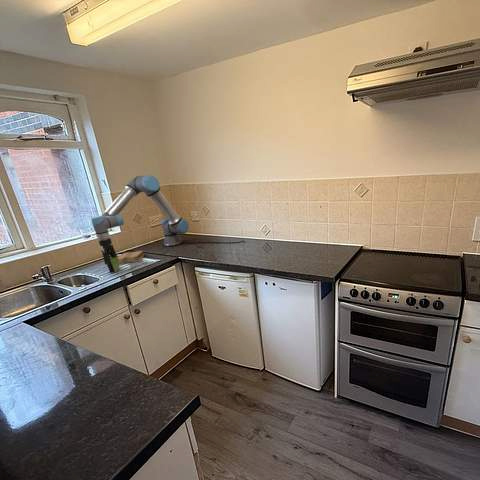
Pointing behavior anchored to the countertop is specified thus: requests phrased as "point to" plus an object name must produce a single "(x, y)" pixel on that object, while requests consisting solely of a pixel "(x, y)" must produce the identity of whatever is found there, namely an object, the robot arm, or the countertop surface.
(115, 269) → the plant pot
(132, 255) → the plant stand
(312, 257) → the countertop surface
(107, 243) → the robot arm
